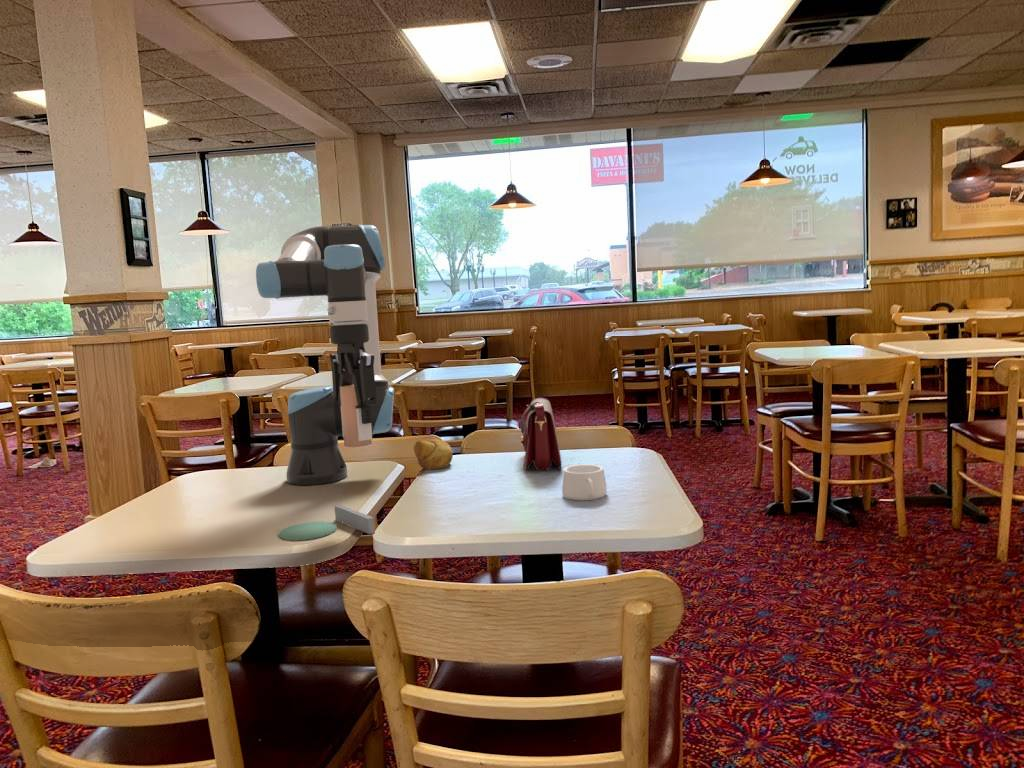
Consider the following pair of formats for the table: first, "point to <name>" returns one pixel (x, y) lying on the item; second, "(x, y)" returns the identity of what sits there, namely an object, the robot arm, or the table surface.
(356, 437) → the peach rounded cylinder
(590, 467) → the mug
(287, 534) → the pad
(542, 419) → the handbag
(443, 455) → the bread roll
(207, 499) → the table surface
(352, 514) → the rail
